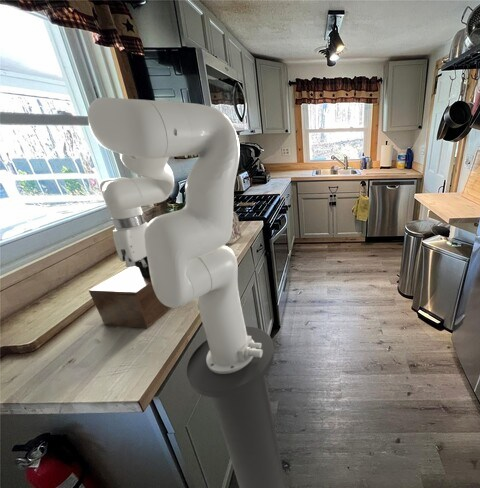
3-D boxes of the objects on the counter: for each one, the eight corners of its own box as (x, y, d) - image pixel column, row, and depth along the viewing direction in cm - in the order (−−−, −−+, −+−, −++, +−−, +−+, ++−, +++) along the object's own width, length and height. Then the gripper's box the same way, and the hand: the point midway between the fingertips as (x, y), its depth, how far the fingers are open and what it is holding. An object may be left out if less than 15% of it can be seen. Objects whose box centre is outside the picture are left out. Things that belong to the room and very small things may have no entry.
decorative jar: (242, 236, 150) (236, 206, 143) (233, 244, 139) (227, 211, 132) (222, 236, 151) (216, 206, 144) (212, 244, 140) (205, 212, 133)
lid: (178, 266, 90) (177, 264, 90) (137, 294, 74) (136, 292, 74) (137, 265, 93) (137, 263, 92) (89, 292, 77) (88, 290, 76)
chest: (185, 295, 95) (176, 266, 90) (147, 328, 79) (134, 295, 74) (148, 293, 97) (137, 265, 93) (104, 324, 81) (89, 292, 77)
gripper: (139, 214, 82) (156, 265, 90) (93, 230, 69) (118, 288, 76) (160, 214, 81) (175, 266, 88) (117, 230, 68) (140, 290, 75)
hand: (148, 276), depth 82 cm, fingers closed
